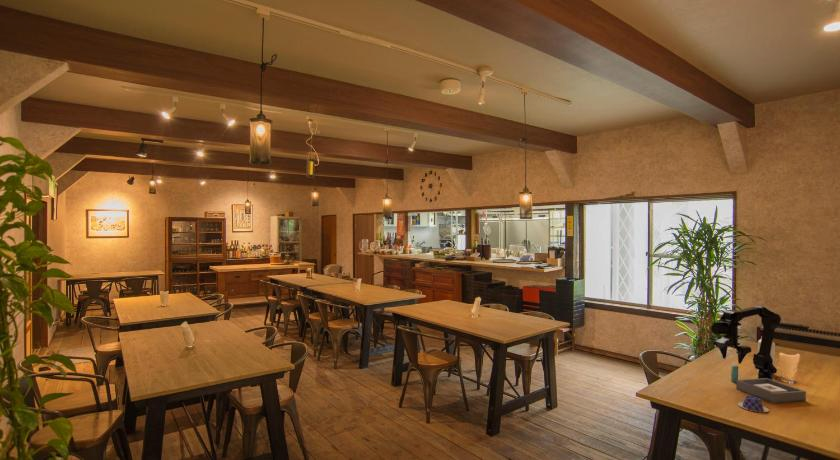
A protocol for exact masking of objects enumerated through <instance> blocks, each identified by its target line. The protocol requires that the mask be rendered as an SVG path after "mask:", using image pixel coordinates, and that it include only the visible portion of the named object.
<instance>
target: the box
mask: <svg viewBox="0 0 840 460" xmlns="http://www.w3.org/2000/svg"><path fill="white" fill-rule="evenodd" d="M735 384H736V387H735V388H736V390H737V391H739V392H741V393H744V394H748V395H749V396H754V397H758V398H760V399H761V401H766V402H767V403H770V404H773V405H777V404H779V405H780V404H790V403H802V402H806V401H807V400H806V399H807V391H806V390H802V389H799V388H798V387H794V386H792V385H791V386H790V385H788V384H785V383H782V382H780V381H776V380H771V379H768V378H760V379H758V378H747V379H738V380H737V383H735Z"/></svg>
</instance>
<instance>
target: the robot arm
mask: <svg viewBox="0 0 840 460" xmlns="http://www.w3.org/2000/svg"><path fill="white" fill-rule="evenodd" d="M753 316H759V317H760V318H761V324H762V327H763V329H762V334H761V336H762V339H761V338H760V339H761V344H760V350H759V352H758V351H757V353H753V357H752V364H753V365H754V367H755V368H754V369H756V370H757V369H758V370H759V373H758V372H757V379H760V378H768V379H771V380H773V378H774V377H773V376H774V375H773V374H774V373H775V374H777V372H778V369H777V368H776V366H775V367H774V366H773V360H772V357H771V355H770V352H771V347H772V341H773V340H774V337H775V331H776V329H777V327H779V326H780V324H781V321H782V318H781V315H780V314H778V313H775V312H774V311H771V310H770V309H768V308H766V307H765V306H762V305H754V306H751V307H747V308H743V309H738V310H737V309H728V310H727V309H726V310H724V311H723V313H722V315H721V316H720V318H719V320H718V321H713V322H714V323H713V324H712V325H711V327H710V329H711V332H712V333H713V334H714V335H722V338H718V339H713V341H712V343H713V345H715V347H716V348H718V349H719V351H720V353H721V356H722V358H723V359H724V360H725V359H726V358H727V354H728V348H731V349H735V350H736V351H735V352H736V354H737V361H738V364H739V365H740V364H742V362H743V360H744V359H745V357H746V356H747V354H749V353H752V348H751V347H750V346H747V345H740V344H741V343H740V342H739V339H740V335H739V332H738V331H739V328H738V327H740V326H742V324H741V323H740V322H741V321H742V320H743V319H745V318H748V317H753ZM773 342H774V341H773Z"/></svg>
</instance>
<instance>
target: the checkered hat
mask: <svg viewBox="0 0 840 460" xmlns="http://www.w3.org/2000/svg"><path fill="white" fill-rule="evenodd" d="M737 405H738V406H739V407H741V409H745V410H748V409H750V410H748V411H752V412H753V411H754V410H755V411H754V412H757V411H759V412H761V411H763V412H762V413H768V412H769V411H770V410H769V408H767V407H766V406H764V405H763V402H762V399H760V398H758V397H755V396H752V395H746V396H745V397H744V400H743V401H740V402H737ZM742 406H743V407H742ZM764 409H765V411H764ZM757 413H758V412H757Z"/></svg>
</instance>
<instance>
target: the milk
mask: <svg viewBox="0 0 840 460" xmlns="http://www.w3.org/2000/svg"><path fill="white" fill-rule="evenodd" d="M761 339H762V335H761V338H760V339H758V341H757V353H758V352H759V350H760V344H761ZM770 355H771V357H772V360H773V366H774V367H775V368H776V343H775V342H774V341H772V347H771V352H770ZM756 370H757V371H756V372H757V373H758V372H759V370H758V369H756ZM774 374H775V375H776V373H774Z"/></svg>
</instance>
